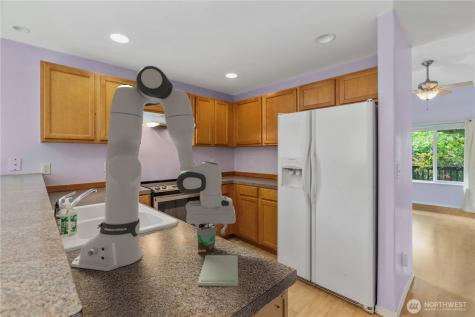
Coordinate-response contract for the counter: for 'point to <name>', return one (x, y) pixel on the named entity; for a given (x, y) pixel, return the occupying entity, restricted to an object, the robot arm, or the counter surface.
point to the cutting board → (219, 271)
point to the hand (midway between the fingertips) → (211, 234)
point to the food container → (206, 238)
